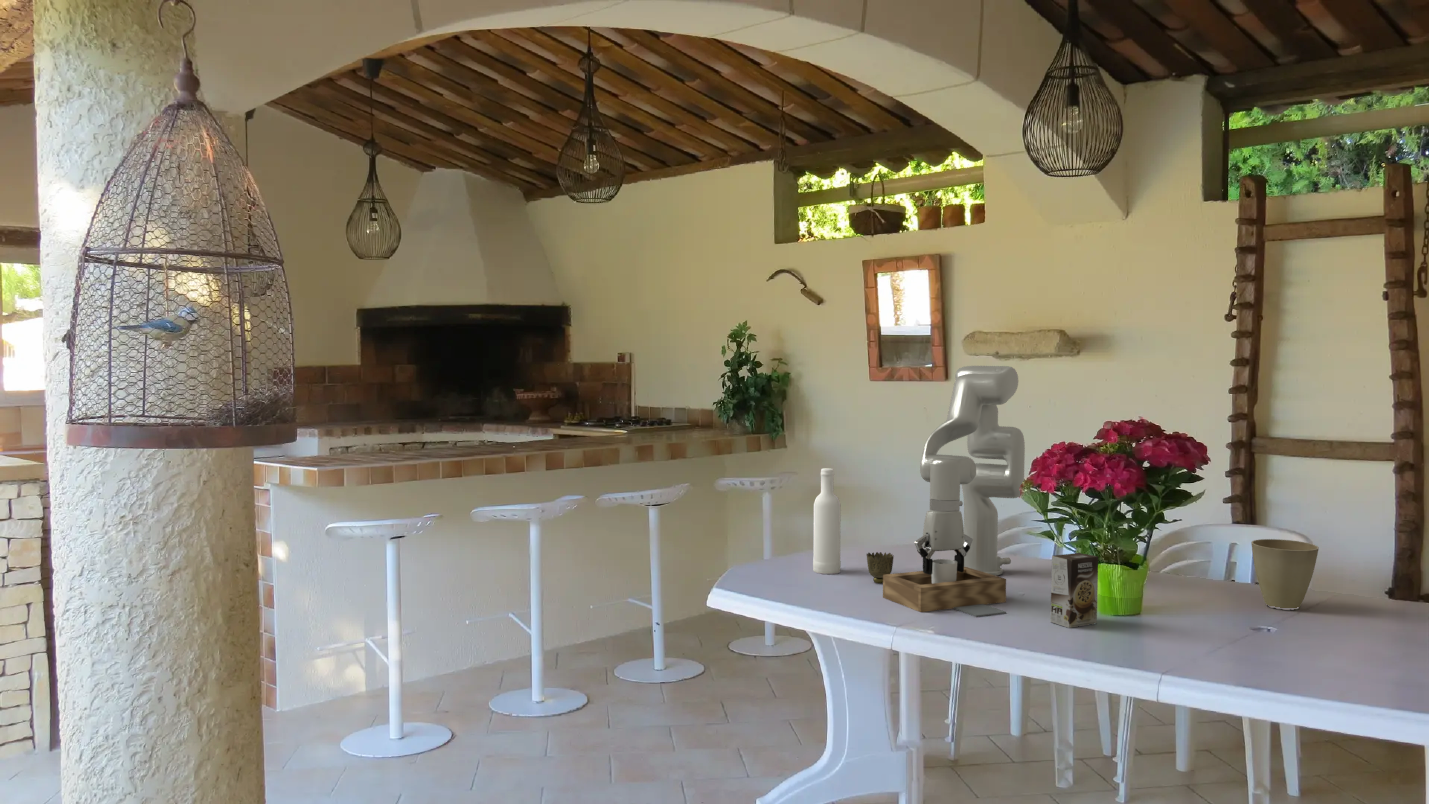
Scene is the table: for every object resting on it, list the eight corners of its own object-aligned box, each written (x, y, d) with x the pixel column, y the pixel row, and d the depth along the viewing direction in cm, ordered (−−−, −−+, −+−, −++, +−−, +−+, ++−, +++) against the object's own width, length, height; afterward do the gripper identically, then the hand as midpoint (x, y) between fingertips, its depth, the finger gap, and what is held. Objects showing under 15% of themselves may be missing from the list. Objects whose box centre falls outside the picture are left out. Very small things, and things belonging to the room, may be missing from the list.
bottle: (821, 567, 320) (822, 466, 319) (845, 570, 316) (846, 468, 314) (808, 572, 314) (808, 469, 312) (831, 575, 309) (832, 471, 308)
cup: (895, 585, 296) (895, 556, 296) (868, 585, 296) (868, 556, 296) (891, 580, 304) (891, 551, 303) (865, 579, 304) (865, 551, 303)
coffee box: (1069, 628, 251) (1071, 559, 250) (1049, 622, 257) (1050, 554, 256) (1098, 624, 255) (1099, 556, 255) (1077, 618, 261) (1078, 551, 260)
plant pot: (1241, 607, 271) (1243, 544, 271) (1260, 597, 282) (1261, 536, 281) (1307, 617, 261) (1309, 552, 260) (1324, 607, 272) (1325, 544, 271)
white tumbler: (927, 601, 278) (927, 562, 278) (934, 595, 284) (935, 558, 284) (952, 604, 275) (953, 565, 275) (959, 598, 281) (960, 560, 281)
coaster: (983, 605, 274) (983, 603, 274) (1006, 613, 265) (1006, 611, 265) (953, 608, 270) (953, 607, 270) (976, 617, 262) (976, 615, 262)
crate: (964, 588, 293) (965, 566, 292) (1005, 602, 277) (1006, 578, 277) (882, 597, 282) (883, 574, 282) (920, 612, 267) (920, 588, 266)
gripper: (963, 503, 285) (962, 567, 286) (907, 505, 278) (906, 572, 279) (981, 506, 278) (980, 572, 279) (924, 509, 271) (923, 577, 272)
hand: (943, 572), depth 279 cm, fingers open, 9 cm apart
